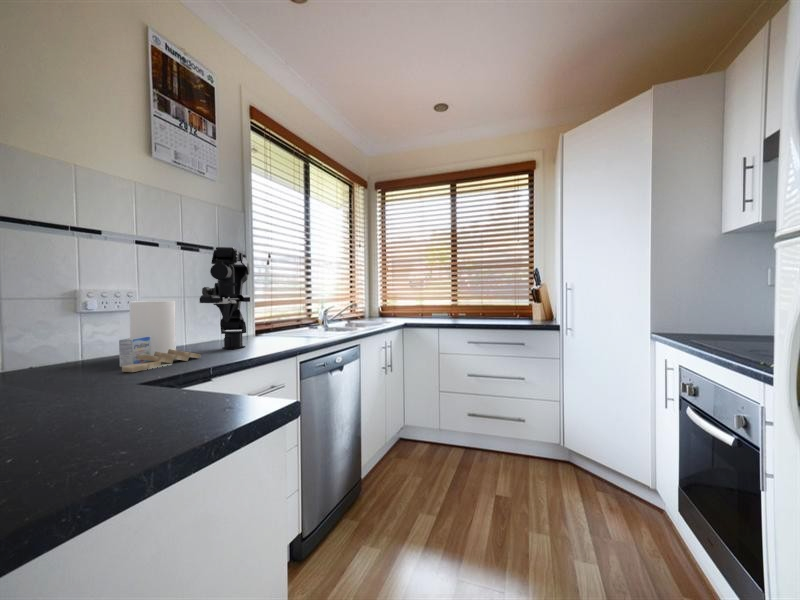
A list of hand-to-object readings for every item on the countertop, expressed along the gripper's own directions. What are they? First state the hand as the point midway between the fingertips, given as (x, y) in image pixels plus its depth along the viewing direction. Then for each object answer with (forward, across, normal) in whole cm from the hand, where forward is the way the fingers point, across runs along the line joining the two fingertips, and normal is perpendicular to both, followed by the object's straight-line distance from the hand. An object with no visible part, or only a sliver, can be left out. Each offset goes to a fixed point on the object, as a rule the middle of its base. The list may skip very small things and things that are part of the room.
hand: (226, 321), depth 135 cm
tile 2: (+11, +15, -2) cm, 19 cm away
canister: (+12, +14, -20) cm, 27 cm away
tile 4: (+11, +26, -2) cm, 28 cm away
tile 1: (+11, +11, -2) cm, 16 cm away
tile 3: (+11, +21, -2) cm, 24 cm away
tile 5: (+12, +22, -2) cm, 25 cm away
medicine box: (+12, +26, -11) cm, 31 cm away
